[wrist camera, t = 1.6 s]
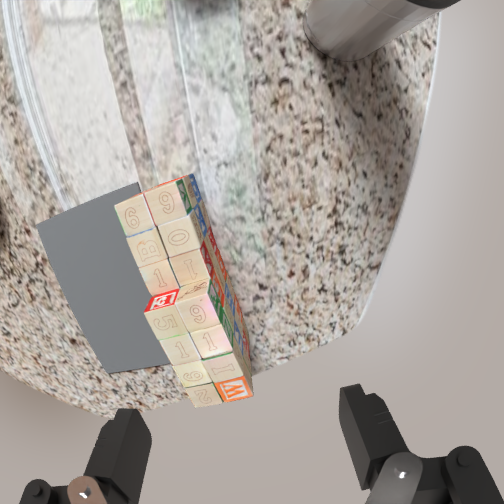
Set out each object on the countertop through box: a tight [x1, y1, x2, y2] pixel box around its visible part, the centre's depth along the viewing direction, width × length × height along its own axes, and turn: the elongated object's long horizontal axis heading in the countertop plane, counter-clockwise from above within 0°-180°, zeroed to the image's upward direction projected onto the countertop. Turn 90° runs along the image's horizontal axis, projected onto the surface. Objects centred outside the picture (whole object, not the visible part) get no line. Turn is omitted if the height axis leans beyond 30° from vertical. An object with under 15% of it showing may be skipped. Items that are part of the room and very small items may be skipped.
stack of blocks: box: [114, 174, 253, 408], centre depth 31 cm, size 21×6×12 cm, turn 17°
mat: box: [36, 182, 171, 373], centre depth 37 cm, size 16×24×1 cm, turn 15°
